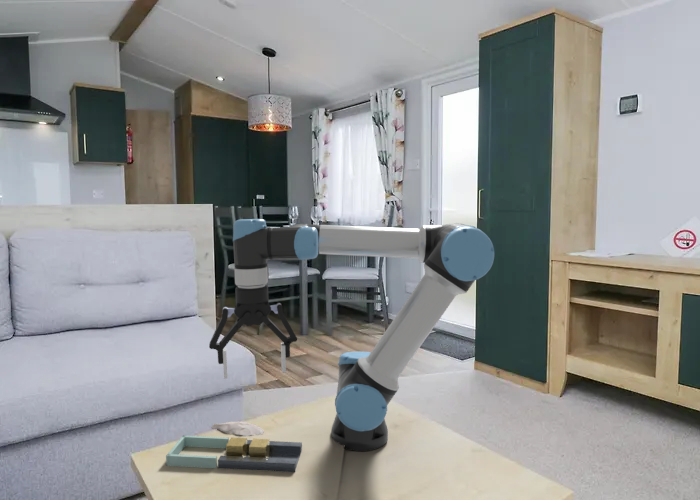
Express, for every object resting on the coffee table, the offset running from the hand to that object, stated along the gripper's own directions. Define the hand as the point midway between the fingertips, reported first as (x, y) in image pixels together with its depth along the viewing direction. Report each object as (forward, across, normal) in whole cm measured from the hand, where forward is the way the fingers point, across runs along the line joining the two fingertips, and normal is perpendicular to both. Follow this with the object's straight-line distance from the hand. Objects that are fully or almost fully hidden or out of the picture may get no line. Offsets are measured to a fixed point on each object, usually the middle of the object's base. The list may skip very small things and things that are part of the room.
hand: (255, 373), depth 119 cm
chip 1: (+21, +5, -1) cm, 21 cm away
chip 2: (+21, 0, +1) cm, 21 cm away
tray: (+22, +14, -4) cm, 26 cm away
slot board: (+22, -1, +1) cm, 22 cm away
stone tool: (+22, +4, -17) cm, 28 cm away
